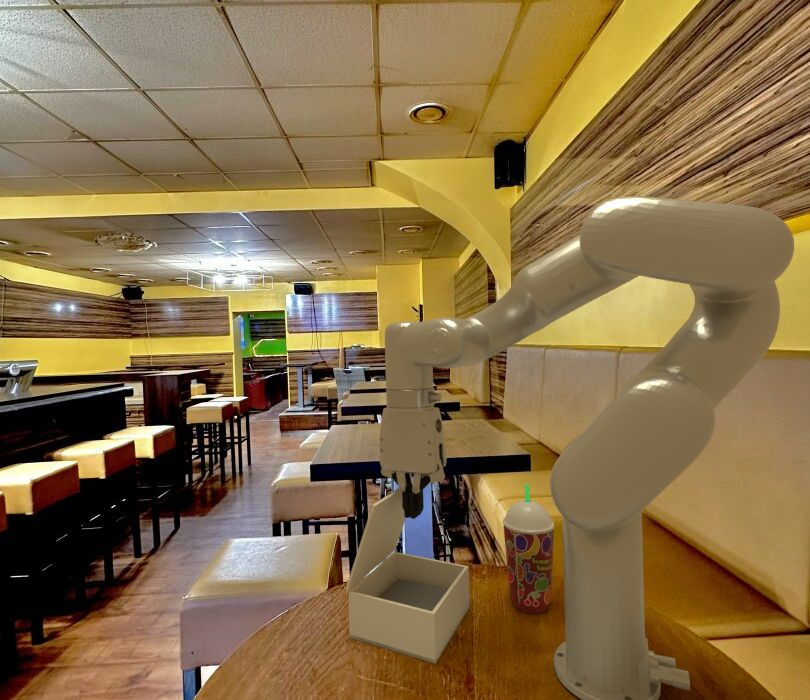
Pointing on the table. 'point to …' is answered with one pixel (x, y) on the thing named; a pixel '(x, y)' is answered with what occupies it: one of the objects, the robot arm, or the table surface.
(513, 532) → the smoothie
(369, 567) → the lid
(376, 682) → the table surface
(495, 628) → the table surface
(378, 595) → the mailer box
